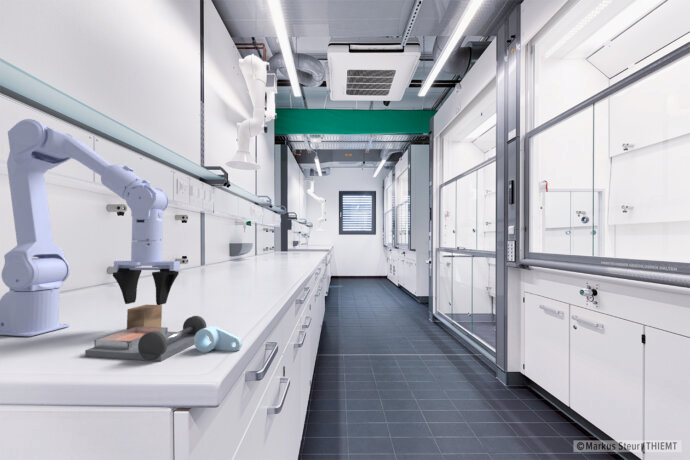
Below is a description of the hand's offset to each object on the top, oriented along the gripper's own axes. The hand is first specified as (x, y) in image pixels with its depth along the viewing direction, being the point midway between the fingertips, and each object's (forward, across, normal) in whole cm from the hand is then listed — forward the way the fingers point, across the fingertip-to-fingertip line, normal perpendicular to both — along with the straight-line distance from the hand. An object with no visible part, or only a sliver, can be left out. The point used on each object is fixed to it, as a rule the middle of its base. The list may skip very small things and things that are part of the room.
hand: (145, 303), depth 68 cm
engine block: (+6, 0, 0) cm, 6 cm away
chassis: (+6, +9, -10) cm, 15 cm away
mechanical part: (+6, +22, -9) cm, 25 cm away
